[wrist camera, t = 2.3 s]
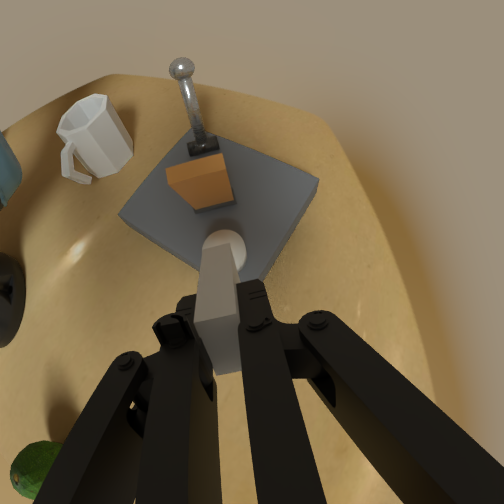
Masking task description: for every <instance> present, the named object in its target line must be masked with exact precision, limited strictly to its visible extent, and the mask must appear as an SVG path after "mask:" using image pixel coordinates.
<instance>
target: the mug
mask: <svg viewBox="0 0 504 504" xmlns="http://www.w3.org/2000/svg"><path fill="white" fill-rule="evenodd" d="M56 133H57V134H58V135H59V137H60V138H61V139H62V140H63V142H64V143H65V144H66V145H65V147H64V148H63V150H62V151H61V171H62V176H63V177H66V178H68V179H71V180H73V181H75V182H78V183H80V184H91V180H92V177H91V176H88V175H85V174H83V173H80V172H77V171H75V170H74V162H73V154H74V155H75V156H76V158H77V159H78V160H79V161H80V162H81V164H82V165H83V166H84V167H85V168H86V170H87V171H88V172H89V173H91V174H93V175H94V176H96V177H97V178H102V177H105V176H108V175H112V174H115V173H118V172H119V171H120V170H121V169H122V168H123V166H124V165H125V164H126V163H127V162H128V161H129V160H130V158H131V157H132V156H133V140H132V139H131V137H130V135H129V134H128V132H127V130H126V128H125V127H124V125H123V123H122V121H121V119H120V118H119V116H118V114H117V112H116V111H115V109H114V107H113V105H112V103H111V102H110V100H109V98H108V96H107V95H101V94H93V95H90V96H88V97H85V98H83V99H81V100H79V101H77V102H76V103H75V104H74V105H73V106H72V107H71V108H70V109H69V110H68V111H67V112H66V113H65V114H64V115H63V116H62V117H61V120H60V123H59V125H58V128H57V131H56Z"/></svg>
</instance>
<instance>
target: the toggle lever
mask: <svg viewBox="0 0 504 504" xmlns="http://www.w3.org/2000/svg"><path fill="white" fill-rule="evenodd" d="M194 69H195V67H194V64H193V62H192V61H191V60H190V59H188V58H184V57H183V58H177V59H176V60H174V61H173V62H172V63H171V65H170V68H169V73H170V75H171V77H172V78H174V79H175V80H178V83H179V86H180V90H181V93H182V96H183V100H184V103H185V107H186V110H187V113H188V117H189V120H190V124H191V127H192V130H193V134H194V137H195V141H192V142H188V143H187V148H188V152H189V155H190V157H192V156H196V155H200V154H203V153H207V152H211V151H215V150H219V149H220V148H219V143H218V139H217V135H215V136H211V137H207V135H206V131H205V127H204V124H203V120H202V116H201V112H200V109H199V105H198V101H197V97H196V94H195V90H194V86H193V82H192V79H191V76H192V75H193V73H194Z"/></svg>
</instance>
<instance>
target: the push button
mask: <svg viewBox="0 0 504 504" xmlns="http://www.w3.org/2000/svg"><path fill="white" fill-rule="evenodd" d="M226 243H230V246H231V249H232V253H233V257H234V260H235V264H236V268H237V272H238V273H239V272H240V271H241V270H242V269H243V268H244V266H245V264H246V261H247V251H246V247H245V243H244V241H243V239H242V237H241V236H240V235H239V234H238V233H236V232H234V231H231V230H218V231H216V232H214V233H212V234H211V235H209V236H208V237H207V239H206V240H205V242H204V244H203V247H202V251H203V249H206V248H210V247H214V246H218V245H222V244H226Z"/></svg>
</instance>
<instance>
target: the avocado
mask: <svg viewBox="0 0 504 504" xmlns="http://www.w3.org/2000/svg"><path fill="white" fill-rule="evenodd" d="M62 446H63V444H60V443H57V442H50V441H44V440H43V441H39V442H35V443H31V444H29V445H27V446H26V447H25V448H24V449H23V450H22V451H21V452H19V454H18V455H17V457H16V458H15V460H14V461H13V463H12V465H11V470H10V479H11V482H12V485H13V487H14V489H15V490H16V491H18V492H19V493H20V494H21V495H22V496H24V497H27V498H29V499H33V500H35V498H36V496H37V494H38V491H39V489H40V487H41V485H42V483H43V481H44V480H45V478H46V476H47V474H48V472H49V470H50V468H51V466H52V464H53V462H54V460H55V459H56V457H57V455H58V453H59V451H60V449H61V448H62Z"/></svg>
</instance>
